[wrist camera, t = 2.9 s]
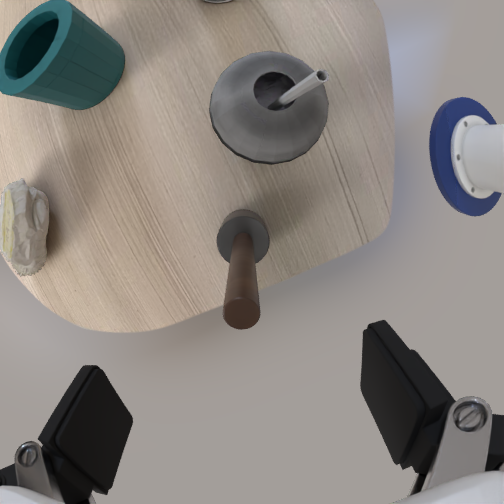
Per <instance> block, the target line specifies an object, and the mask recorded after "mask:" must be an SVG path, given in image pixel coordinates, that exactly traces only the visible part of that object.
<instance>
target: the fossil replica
mask: <svg viewBox="0 0 504 504" xmlns="http://www.w3.org/2000/svg"><path fill="white" fill-rule="evenodd" d="M49 212H50V210H49V203H48V199H47V197H46V195H45V194H44V192H42V191H40V190H37V189H36V188H34V187H32V186H31V187H29V186H27V184H26V182H25V180H24V179H23V178H21V179H20V180H19V181H16V182H13V183H10V184H8V185H7V186H6V187H5V188H4V192H2V195H1V204H0V251H1V253H2V254H3V255H4V256H5V258H6V260H7V261H8V262H11V264H12V266H13V268H14V269H15V272H16V273H17V274H19V275H20V276H22V275H23V276H27V275H30V276H31V275H32V274H35V273H36V272H38V270H41V269H42V266H44V263H45V262H46V257H47V249H46V235H47V233H48V231H47V230H48V227H49V226H48V223H49Z"/></svg>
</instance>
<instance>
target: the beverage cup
mask: <svg viewBox="0 0 504 504" xmlns="http://www.w3.org/2000/svg"><path fill="white" fill-rule="evenodd" d="M328 78H329V74H328V73H327V71H326V70H323V69H318V70H316V71H314V70H313V69H312V68H310V67H309V66H308V65H307V64H306V63H304V62H303V61H302V60H300V59H298V58H295V57H293V56H291V55H289V54H286V53H280V52H273V51H265V52H258V53H252V54H249V55H247V56H245V57H243V58H241V59H239V60H237V61H235V62H233V63H232V64H231V65H230V66H229V67H228V68H227V69H226V70H225V71H224V72H223V73H222V74H221V76H220V77H219V79H218V81H217V83H216V85H215V87H214V89H213V92H212V94H211V100H210V108H209V113H210V117H211V122H212V127H213V129H214V131H215V132H216V134H217V136H218V137H219V139H220V140H221V142H222V143H223V144H224V145H225V146H226V147H227V148H228V149H230V150H231V151H232V152H233V153H234V154H235V155H237V156H240V157H242V158H244V159H247V160H249V161H251V162H254V163H263V164H271V165H272V164H278V163H283V162H289V161H292V160H293V159H295V158H297V157H299V156H301V155H303V154H305V153H306V152H307V151H308V150H309V149H310V148H311V147H312V146H313V145H314V144H315V143H316V142H317V141H318V139H319V137H320V135H321V133H322V131H323V129H324V127H325V124H326V122H327V116H328V105H329V103H328V99H327V95H326V91H325V87H324V85H323V83H324V82H326V81H328Z"/></svg>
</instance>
